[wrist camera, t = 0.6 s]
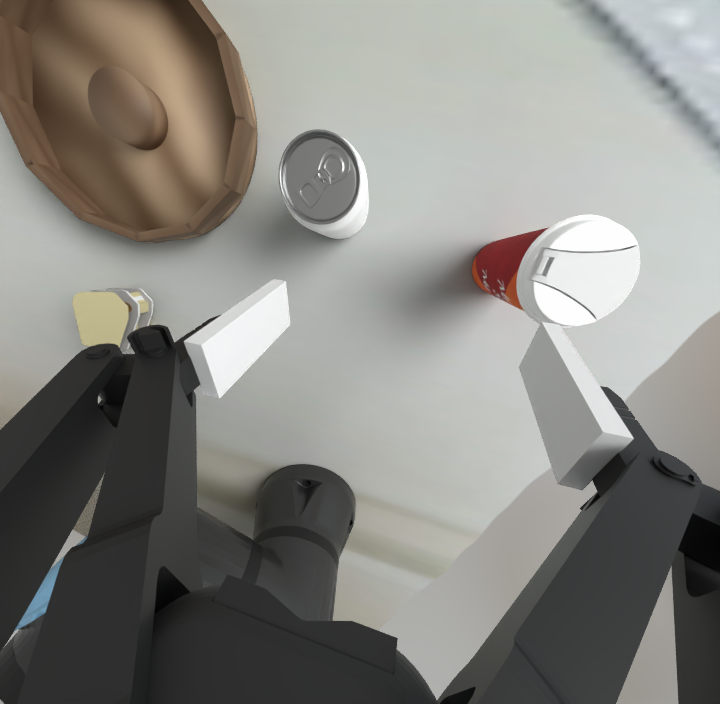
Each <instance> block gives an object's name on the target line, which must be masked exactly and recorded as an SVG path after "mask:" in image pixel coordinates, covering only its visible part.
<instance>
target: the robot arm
mask: <svg viewBox="0 0 720 704" xmlns="http://www.w3.org/2000/svg"><path fill="white" fill-rule="evenodd" d="M289 325H290V315H289V306H288V296H287V287H286V281H282V280H276V279H273V280H271V281H270V282H268V283H267V284H266V285H264V286H263V287H261V288H260V289H258V290H257V291H255V292H254V293H253V294H251V295H250V296H248V297H247V298H245V299H244V300H242V301H241V302H240V303H238V304H237V305H235V306H234V307H232V308H231V309H229V310H228V311H227V312H225V313H224V314H222V315H219V316H216V317H213V318H211V319H209V320H207V321H206V322H204V323H203V324H202V326H201V325H200V326H199V327H197V328H196V329H195V330H193V331H191V332H190V333H188V334H187V335H185V336H184V337H182V338H181V339H179V340H178V341H176V342H175V343H174V341H173V339H172V336H171V334H170V331H169V329H168V327H166V326H163V325H150V326H146V327H142V328H139V329H137V330H134V331H133V332H131V333H130V334H129V335H128V336H127V339H128V341H129V343H130V345H131V347H132V349H133V351H134V353H135V354H122V352H121V350H120V348H119V347H118V345H116V344H111V343H105V344H97V345H95V346H94V345H93V346H90V347H89V348H87V349H85V350H83V351H81V352H80V353H78V354H77V355H76V356H75V357H74V358H73V359H72V360H71V361H70V362H69V363H68V364H67V365H66V366H65V367H64V368H63V369H62V370H61V371H60V372H59V373H58V374H57V375H56V376H55V377H54V378H53V379H52V380H51V381H50V382H49V383H48V384H47V385H46V386H45V387H44V388H42V389H41V390H40V391H39V392H38V393H37V394H36V395H35V396H34V397H33V398H32V399H31V400H30V401H29V402H28V403H27V404H26V405H25V406H24V407H23V408H22V409H21V410H20V411H19V412H18V413H17V414H16V415H15V416H14V417H13V418H12V419H11V420H10V421H9V422H8V423H7V424H6V425H5V426H4V427H3V428H2V429H1V430H0V704H616V702H617V700H618V697H619V694H620V692H621V690H622V687H623V685H624V682H625V679H626V677H627V675H628V672H629V670H630V667H631V665H632V662H633V659H634V657H635V654H636V652H637V649H638V647H639V645H640V642H641V640H642V637H643V635H644V632H645V630H646V627H647V625H648V622H649V620H650V617H651V615H652V612H653V610H654V607H655V605H656V602H657V599H658V597H659V595H660V592H661V590H662V587H663V585H664V582H665V580H666V577H667V575H668V572H669V570H670V568H671V565H672V581H673V601H674V622H675V642H676V661H677V680H678V701H679V704H720V491H718V490H716V489H714V488H711V487H709V486H706V485H704V484H702V482H701V480H700V479H699V477H698V476H697V474H696V473H695V472H694V471H693V470H692V469H691V468H690V467H689V466H687V465H686V464H685V463H683V462H682V461H680V460H679V459H677V458H676V457H674V456H672V455H669V454H668V453H665V452H663V451H659V450H658V449H657V448H656V447H655V445H654V444H653V442H652V441H651V440H650V438H649V437H648V435H647V434H646V433H645V431H644V430H643V429H642V427H641V425H640V424H639V423H638V421H637V420H635V417H634V416H633V414H632V413H631V412H630V411H628V410H629V409H628V407H627V406H626V405H625V403H624V402H623V400H622V399H621V398H620V397H619V396H618V395H617V394H615V393H614V392H613V391H612V390H611V389H609V388H607V387H602V386H599V384H598V383H597V381H596V380H595V378H594V377H593V375H592V374H591V372H590V371H589V369H588V368H587V366H586V364H585V363H584V361H583V360H582V358H581V357H580V355H579V354H578V352H577V351H576V349H575V348H574V346H573V345H572V343H571V342H570V340H569V339H568V337H567V335H566V334H565V332H564V331H563V329H562V328H561V326H560V325H559V324H553V323H546V322H541V324H540V326H539V328H538V330H537V332H536V334H535V336H534V338H533V340H532V342H531V344H530V346H529V348H528V350H527V352H526V354H525V356H524V358H523V360H522V362H521V364H520V366H519V369H520V372H521V375H522V378H523V381H524V384H525V387H526V390H527V393H528V396H529V399H530V402H531V405H532V408H533V411H534V414H535V417H536V420H537V423H538V426H539V429H540V433H541V436H542V439H543V442H544V445H545V448H546V451H547V454H548V457H549V460H550V463H551V466H552V469H553V472H554V475H555V478H556V481H557V484H560V485H564V486H568V487H572V488H576V489H579V490H583V489H584V488H585V487H586V486H587V485H588V484H589V483H590V482H591V481H592V480H593V482H594V485H595V487H596V489H597V491H598V492H597V493H596V494H595V495H594V496H592V498H590V499H589V500H588V501H587V502H586V503H585V504H584V505H583V506H582V507H581V508H580V509H581V510H582V511H581V512H580V514H579V515H578V517H577V518H576V520H575V521H574V522H573V523H572V525H571V526H570V527H569V529H568V530H567V531H566V533H565V534H564V535H563V537H562V538H561V540H560V541H559V542H558V543H557V545H556V546H555V548H554V549H553V550H552V552H551V553H550V554H549V556H548V557H547V558H546V560H545V561H544V562H543V564H542V565H541V567H540V568H539V569H538V571H537V572H536V573H535V575H534V576H533V577H532V579H531V580H530V581H529V583H528V584H527V585H526V587H525V588H524V589H523V591H522V592H521V593H520V595H519V596H518V598H517V599H516V600H515V602H514V603H513V604H512V606H511V607H510V608H509V610H508V611H507V612H506V614H505V615H504V617H503V618H502V619H501V621H500V622H499V623H498V625H497V626H496V627H495V629H494V630H493V631H492V633H491V634H490V635H489V637H488V638H487V639H486V641H485V642H484V643H483V645H482V646H481V647H480V649H479V650H478V652H477V653H476V654H475V656H474V657H473V658H472V659H471V661H470V662H469V663H468V664H467V665H466V666H465V667H464V668H463V669H462V670H461V671H460V672H459V673H458V675H457V676H456V677H455V678H454V679H453V680H452V682H451V683H450V685H449V686H448V687H447V688H446V690H445V691H444V692H443V693H442V695H441V696H440V698H439V699H438V700H436V698H435V696H434V694H433V693H432V691H431V690H430V688H429V686H428V685H427V683H426V681H425V680H424V679H423V677H422V676H421V674H420V673H419V672H418V670H416V668H415V667H414V666H413V665H412V664H411V663H410V661H409V660H408V659H407V658H406V657H405V656H404V655H403V654H401V653H400V652H399V651H398V650H397V649H396V648H397V638H395V637H393V636H390V635H387V634H385V633H382V632H380V631H377V630H374V629H372V628H369V627H366V626H364V625H361V624H358V623H356V622H353V621H333V612H334V602H335V592H336V582H337V571H338V563H339V558H340V555H341V553H342V551H343V548H344V546H345V544H346V541H347V539H348V537H349V534H350V532H351V530H352V527H353V525H354V520H355V508H356V502H355V497H354V494H353V492H352V490H351V488H350V487H349V485H348V484H347V483H346V482H345V481H344V480H343V479H342V478H341V477H340V476H338V475H337V474H335V473H334V472H332V471H330V470H327V469H325V468H322V467H318V466H313V465H293V466H289V467H286V468H283V469H280V470H279V471H277V472H275V473H274V474H272V475H271V476H270V477H269V478H268V479H267V481H266V482H265V484H264V486H263V488H262V490H261V492H260V494H259V496H258V499H257V503H256V516H255V525H254V536H253V540H251V539H250V538H249V537H247V536H245V535H244V534H242V533H240V532H238V531H237V530H235V529H233V528H232V527H230V526H228V525H227V524H225V523H223V522H222V521H220V520H218V519H217V518H215V517H213V516H212V515H210V514H208V513H206V512H205V511H203V510H201V509H200V508H198V507H197V465H196V395H195V393H194V389H195V388H197V387H198V386H199V385H200V386H201V389H202V391H203V394H204V395H207V396H211V397H215V398H219V399H220V398H221V397H222V396H223V395H224V394H225V392H226V391H227V390H228V389H229V388H230V387H231V386H232V385H233V384H234V383H235V382H236V381H237V380H238V379H239V378H240V377H241V376H242V375H243V374H244V373H245V371H246V370H247V369H248V368H249V367H250V366H251V365H252V364H253V363H254V362H255V361H256V360H257V359H258V358H259V357H260V356H261V355H262V354H263V353H264V352H265V350H266V349H267V348H268V347H269V346H270V345H271V344H272V343H273V342H274V341H275V340H276V339H277V338H278V337H279V336H280V335H281V334H282V333H283V332H284V331H285V329H286V328H287V327H288V326H289ZM98 396H100V398H101V399H102V400H101V402H100V403H99V404H98ZM104 472H105V474H104ZM103 474H104V478H103V482H102V486H101V489H100V493H99V497H98V500H97V504H96V508H95V512H94V515H93V519H92V523H91V527H90V530H89V534H88V536H86V537H85V538H84V539H83V540H82V541H81V542H80V543H79V544H77V545H76V546H75V547H72V548H71V549H70V550H69V551H68V553H67V554H66V555H65V556H64V557H63V558H62V559H61V560H60V561H59V562H57V563H56V564H55V565H54V566H53V567H52V568H51V566H52V564H53V563H54V561H55V559H56V558H57V556H58V554H59V552H60V550H61V549H62V547H63V545H64V543H65V542H66V540H67V538H68V536H69V535H70V533H71V531H72V529H73V527H74V526H75V524H76V522H77V520H78V519H79V517H80V515H81V513H82V511H83V510H84V508H85V506H86V504H87V503H88V501H89V499H90V497H91V496H92V494H93V492H94V490H95V488H96V487H97V485H98V483H99V481H100V480H101V478H102V476H103ZM50 568H51V569H50ZM17 629H19V631H18V632H17V633H16V634H15V636H14V637H13V638H12V639H11V640H10V641H9V642H8V640H9V638H10V637H11V635H12V634H13V632H14V631H15V630H17ZM7 642H8V644H7V645H6V646H5V644H6V643H7ZM4 646H5V647H4ZM3 647H4V648H3Z"/></svg>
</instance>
